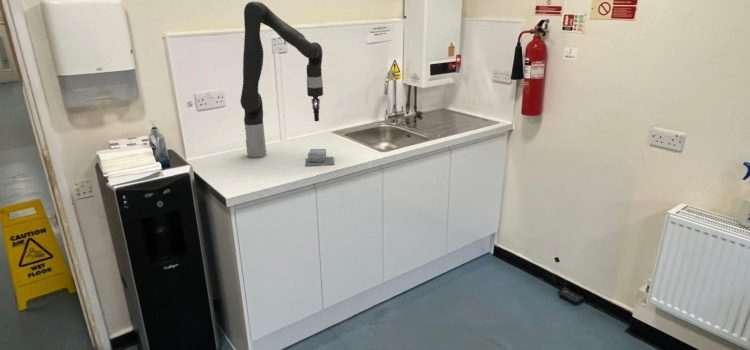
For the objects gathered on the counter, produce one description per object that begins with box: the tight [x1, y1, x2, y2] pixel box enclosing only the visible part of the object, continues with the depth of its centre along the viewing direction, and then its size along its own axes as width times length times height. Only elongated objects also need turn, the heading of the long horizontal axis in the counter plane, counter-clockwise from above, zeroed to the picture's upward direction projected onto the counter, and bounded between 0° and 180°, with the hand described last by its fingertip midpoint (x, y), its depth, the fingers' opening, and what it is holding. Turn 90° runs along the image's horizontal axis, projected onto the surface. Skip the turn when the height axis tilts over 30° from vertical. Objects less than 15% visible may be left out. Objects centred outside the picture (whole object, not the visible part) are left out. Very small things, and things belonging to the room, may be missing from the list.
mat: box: [304, 156, 335, 167], centre depth 229 cm, size 14×11×1 cm
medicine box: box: [307, 148, 327, 162], centre depth 231 cm, size 8×4×9 cm
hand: (316, 120), depth 229 cm, fingers closed
